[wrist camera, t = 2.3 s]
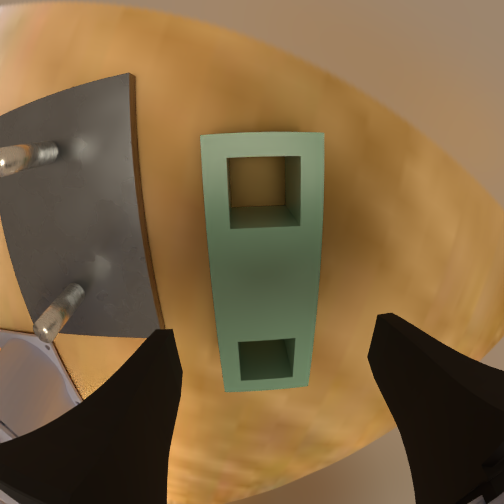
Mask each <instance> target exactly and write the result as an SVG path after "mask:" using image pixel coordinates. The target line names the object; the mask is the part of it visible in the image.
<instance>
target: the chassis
mask: <svg viewBox="0 0 504 504" xmlns="http://www.w3.org/2000/svg"><path fill="white" fill-rule="evenodd" d="M0 216H1V221H2V226H3V230H4V235H5V239H6V243H7V247H8V251H9V254H10V258H11V261H12V265H13V268H14V271H15V275H16V278H17V281H18V284H19V287H20V290H21V293H22V295H23V298H24V301H25V304H26V306H27V309H28V311H29V314H30V316H31V319H32V321H33V324H34V325H33V330H34V333H35V334H36V336H37V337H38V338H39V339H40V340H41V341H43V342H45V343H51V342H52V341H53V340H54V338H55V337H56V336H57V334H58V333H64V334H76V335H91V336H108V337H133V338H148V337H149V336H150V335H151V334H152V333H153V332H154V331H155V330H156V329H165V326H164V321H163V317H162V312H161V308H160V303H159V298H158V293H157V288H156V283H155V277H154V272H153V266H152V261H151V255H150V249H149V242H148V236H147V229H146V222H145V214H144V206H143V198H142V189H141V179H140V169H139V157H138V143H137V126H136V99H135V76H134V75H132V74H131V73H126V74H121V75H117V76H113V77H108V78H104V79H101V80H97V81H93V82H89V83H86V84H83V85H79V86H76V87H73V88H70V89H66V90H63V91H60V92H57V93H55V94H52V95H49V96H46V97H44V98H41V99H38V100H36V101H33V102H31V103H28V104H26V105H24V106H21V107H19V108H17V109H14V110H12V111H10V112H8V113H6V114H3V115H1V116H0Z"/></svg>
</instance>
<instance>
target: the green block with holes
mask: <svg viewBox="0 0 504 504" xmlns="http://www.w3.org/2000/svg"><path fill="white" fill-rule="evenodd" d="M200 142H201V160H202V177H203V192H204V206H205V219H206V231H207V242H208V253H209V264H210V274H211V284H212V293H213V302H214V311H215V320H216V328H217V336H218V344H219V352H220V359H221V367H222V374H223V381H224V388H225V392H244V391H261V390H274V389H286V388H295V387H304V386H308V382H309V375H310V367H311V359H312V351H313V342H314V333H315V324H316V314H317V303H318V291H319V278H320V264H321V248H322V228H323V202H324V133H316V132H246V133H224V134H209V135H200ZM260 156H285V205H281V206H254V207H232V208H231V192H230V171H229V158H234V157H260Z"/></svg>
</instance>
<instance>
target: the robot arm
mask: <svg viewBox="0 0 504 504" xmlns="http://www.w3.org/2000/svg"><path fill="white" fill-rule="evenodd" d="M0 348H1V350H0V504H167V475H168V459H169V451H170V445H171V440H172V435H173V430H174V426H175V421H176V416H177V411H178V407H179V402H180V397H181V386H182V374H183V371H182V367H181V363H180V359H179V355H178V351H177V347H176V342H175V338H174V333H173V329H156V330H155V331H154V332H153V333H152V334H151V335H150V336H149V337H148V338H147V339H146V340H145V341H144V343H143V344H142V345H141V346H140V347H139V348H138V349H137V350H136V351H135V353H134V354H133V355H132V356H131V357H130V358H129V359H128V360H127V361H126V362H125V363H124V364H123V365H122V366H121V367H120V369H118V370H117V371H116V372H115V373H114V374H113V375H112V376H111V377H110V378H109V379H108V380H107V381H106V382H105V383H104V384H103V385H102V386H101V387H99V388H98V389H97V390H96V391H95V392H94V393H92V394H91V395H90V396H88V397H87V398H86V399H85V400H83V401H82V399H81V397H80V395H79V394H78V392H77V390H76V388H75V387H74V385H73V383H72V381H71V379H70V377H69V376H68V374H67V372H66V370H65V368H64V366H63V364H62V362H61V360H60V358H59V356H58V354H57V352H56V350H55V347H54V345H53V343H52V342H51V343H45V342H43V341H41V340H40V339H39V338H38V337H37V336H36V334H28V333H21V332H14V331H8V330H1V329H0ZM367 358H368V361H369V364H370V367H371V370H372V373H373V376H374V379H375V381H376V383H377V385H378V387H379V389H380V391H381V393H382V395H383V397H384V399H385V401H386V403H387V405H388V407H389V410H390V412H391V414H392V416H393V418H394V420H395V422H396V424H397V427H398V429H399V431H400V434H401V437H402V440H403V444H404V447H405V450H406V454H407V457H408V461H409V466H410V469H411V475H412V480H413V485H414V491H415V500H416V504H504V371H502V370H499V369H496V368H493V367H490V366H488V365H485V364H483V363H480V362H478V361H476V360H474V359H471V358H469V357H467V356H465V355H463V354H461V353H459V352H457V351H456V350H454V349H452V348H450V347H448V346H446V345H445V344H443V343H441V342H440V341H438V340H436V339H435V338H433V337H431V336H430V335H428V334H427V333H425V332H423V331H422V330H420V329H419V328H417V327H415V326H414V325H412V324H411V323H409V322H407V321H406V320H404V319H402V318H401V317H399V316H397V315H395V314H393V313H386V314H379V315H377V319H376V324H375V328H374V332H373V337H372V341H371V345H370V349H369V352H368V356H367Z"/></svg>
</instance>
